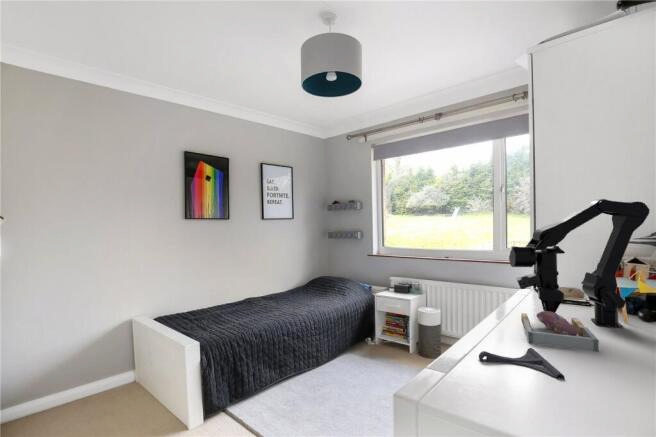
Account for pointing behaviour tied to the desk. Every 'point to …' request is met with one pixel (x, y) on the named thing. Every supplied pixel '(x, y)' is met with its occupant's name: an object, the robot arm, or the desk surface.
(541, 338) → the grey u-shaped frame
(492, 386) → the desk surface
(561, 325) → the video game controller
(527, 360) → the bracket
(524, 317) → the pair of wooden bars
